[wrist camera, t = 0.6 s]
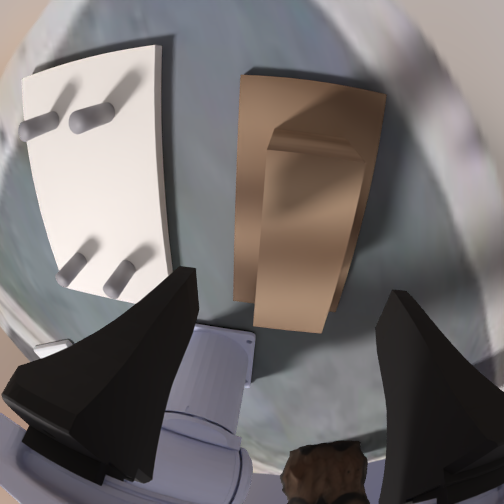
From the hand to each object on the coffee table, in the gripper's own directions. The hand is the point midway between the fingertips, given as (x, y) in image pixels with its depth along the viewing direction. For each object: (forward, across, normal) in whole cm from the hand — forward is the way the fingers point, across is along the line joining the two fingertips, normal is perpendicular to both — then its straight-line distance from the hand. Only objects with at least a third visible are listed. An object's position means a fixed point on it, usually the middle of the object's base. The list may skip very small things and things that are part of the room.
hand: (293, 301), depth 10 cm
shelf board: (+10, 0, +1) cm, 10 cm away
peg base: (+9, +15, 0) cm, 17 cm away
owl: (+10, -13, +46) cm, 49 cm away
